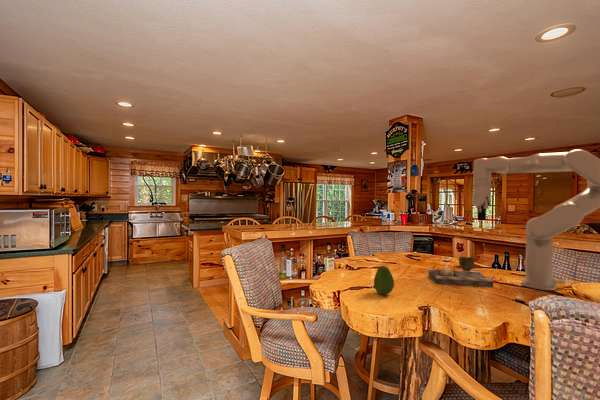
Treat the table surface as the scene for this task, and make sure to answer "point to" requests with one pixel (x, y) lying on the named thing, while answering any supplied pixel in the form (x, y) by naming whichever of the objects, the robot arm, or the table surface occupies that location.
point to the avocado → (383, 281)
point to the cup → (466, 263)
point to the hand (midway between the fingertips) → (481, 220)
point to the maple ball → (446, 272)
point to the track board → (461, 278)
